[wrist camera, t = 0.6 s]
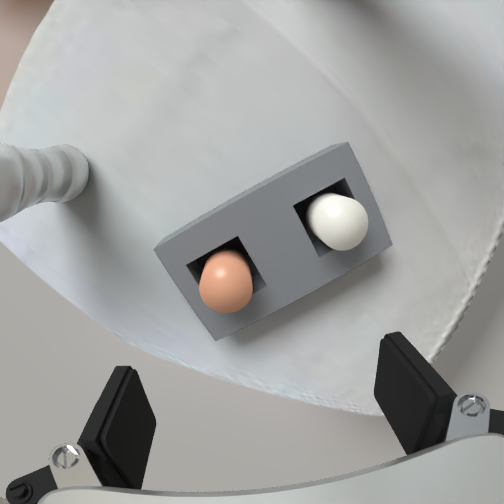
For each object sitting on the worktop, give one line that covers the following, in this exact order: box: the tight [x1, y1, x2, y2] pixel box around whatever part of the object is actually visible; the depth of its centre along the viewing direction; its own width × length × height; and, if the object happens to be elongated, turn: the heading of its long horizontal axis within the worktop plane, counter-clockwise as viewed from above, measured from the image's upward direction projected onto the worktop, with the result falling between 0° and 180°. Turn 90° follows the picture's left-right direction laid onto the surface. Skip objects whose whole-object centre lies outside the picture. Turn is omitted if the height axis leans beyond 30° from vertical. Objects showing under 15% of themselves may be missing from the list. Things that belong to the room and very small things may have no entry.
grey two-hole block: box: [153, 142, 392, 341], centre depth 33 cm, size 22×12×5 cm, turn 119°
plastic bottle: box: [0, 143, 89, 222], centre depth 22 cm, size 6×7×20 cm
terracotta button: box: [199, 249, 253, 313], centre depth 30 cm, size 5×5×5 cm
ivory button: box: [306, 193, 368, 251], centre depth 29 cm, size 5×5×5 cm
